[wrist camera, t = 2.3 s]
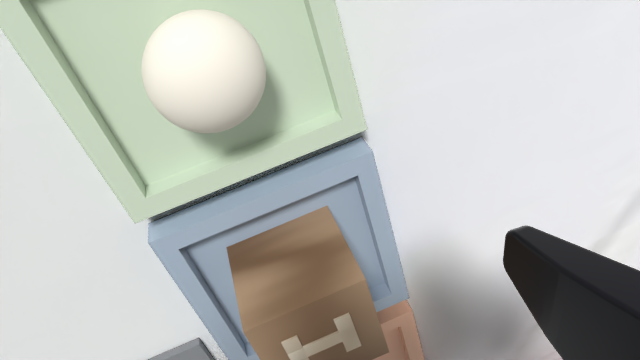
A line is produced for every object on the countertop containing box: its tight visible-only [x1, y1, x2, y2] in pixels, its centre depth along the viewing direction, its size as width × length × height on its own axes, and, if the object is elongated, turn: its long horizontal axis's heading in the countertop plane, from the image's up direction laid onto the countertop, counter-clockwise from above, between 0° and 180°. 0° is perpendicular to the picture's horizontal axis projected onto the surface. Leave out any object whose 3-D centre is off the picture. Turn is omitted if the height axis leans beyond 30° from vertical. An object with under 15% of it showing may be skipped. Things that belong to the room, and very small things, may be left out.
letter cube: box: [226, 206, 389, 360], centre depth 19 cm, size 4×4×5 cm
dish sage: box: [0, 0, 367, 223], centre depth 15 cm, size 9×9×1 cm
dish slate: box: [148, 137, 409, 360], centre depth 21 cm, size 9×9×1 cm
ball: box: [141, 9, 266, 133], centre depth 14 cm, size 4×4×4 cm
